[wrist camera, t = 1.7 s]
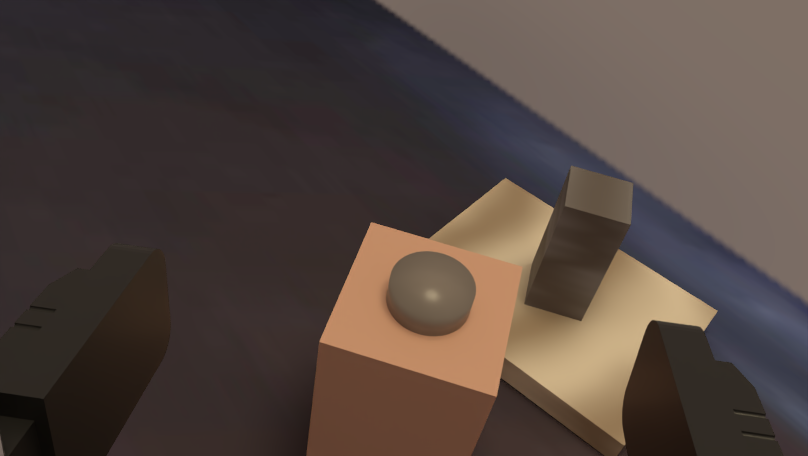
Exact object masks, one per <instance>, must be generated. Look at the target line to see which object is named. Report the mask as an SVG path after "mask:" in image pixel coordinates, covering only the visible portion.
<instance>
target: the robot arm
mask: <svg viewBox="0 0 808 456" xmlns="http://www.w3.org/2000/svg"><path fill="white" fill-rule="evenodd" d="M170 328H171V322H170V310H169V298H168V287H167V275H166V264H165V257H164V254H163V252H162V251H161V250H160V249H154V248H147V247H139V246H132V245H125V244H118V243H115V244H112V245H111V246H110V247H109V248H108V249H107V250H106V251H105V253H104V254H103V255H102V256H101V257H100V258H99V260H98V261H97V262H96V263H95V264H94V266H93V267H92V268H91V269H90V270H86V269H79V268H77V269H75V270H74V271H72V272H70V273H68V274H67V275H65V276H63V277H61V278H60V279H58V280H56V281H54V282H53V283H51V284H49V285H48V286H47V287H46V288H45V290H44V291H43V292H42V293H41V294H40V295H39V296H38V297H37V298H36V300H35V301H34V302H33V303H32V304H31V305H30V309H29V310H26V311H25V312H24V313H23V314H22V315H21V316H20V317H19V318H18V320H17V321H16V322H15V325H14V327H10V328H9V330H8V331H7V332H6V333H5V334H4V335H3V336H2V337H1V338H0V456H106V455H107V454H108V452H109V450H110V449H111V447H112V445H113V443H114V442H115V440H116V438H117V437H118V435H119V433H120V431H121V430H122V428H123V426H124V425H125V423H126V421H127V419H128V418H129V416H130V414H131V413H132V411H133V409H134V408H135V406H136V404H137V402H138V401H139V399H140V397H141V396H142V394H143V392H144V390H145V389H146V387H147V385H148V384H149V382H150V380H151V378H152V377H153V375H154V373H155V372H156V370H157V368H158V366H159V365H160V363H161V361H162V359H163V357H164V355H165V353H166V350H167V346H168V342H169V337H170ZM765 415H766V413H765V411H764V408H763V406H762V404H761V401H760V399H759V397H758V394H757V392H756V390H755V387H754V386H753V385H752V384H751V383H750V382H749V381H748V380H747V379H746V378H745V377H744V376H743V375H742V373H741V372H740V371H739V370H738V369H737V368H736V367H735V366H734V365H733V364H732V363H729V362H722V361H715V360H714V357H713V354H712V352H711V349H710V346H709V344H708V341H707V338H706V336H705V333H704V331H703V329H702V328H701V327H699V326H692V325H685V324H678V323H671V322H664V321H657V320H652V321H651V322H650V323H649V324H648V326H647V328H646V330H645V333H644V336H643V339H642V342H641V345H640V348H639V351H638V354H637V357H636V360H635V363H634V366H633V369H632V372H631V375H630V378H629V381H628V384H627V387H626V390H625V394H624V399H623V407H622V426H623V433H624V438H625V443H626V448H627V453H628V456H783V453H782V451H781V448H780V446H779V444H778V441H775V434H774V432H773V430H772V427H771V425H770V423H769V420H768V419H766V418H765Z"/></svg>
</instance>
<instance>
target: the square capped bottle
mask: <svg viewBox="0 0 808 456" xmlns="http://www.w3.org/2000/svg"><path fill="white" fill-rule="evenodd" d="M522 268H523V267H521V266H518V265H515V264H511V263H508V262H505V261H501V260H498V259H494V258H491V257H488V256H484V255H481V254H477V253H474V252H471V251H467V250H464V249H460V248H457V247H454V246H450V245H447V244H443V243H440V242H437V241H433V240H430V239H426V238H423V237H420V236H416V235H413V234H410V233H406V232H403V231H399V230H396V229H393V228H389V227H386V226H382V225H379V224H376V223H372V222H371V224H370V227H369V229H368V231H367V234H366V236H365V238H364V240H363V243H362V245H361V247H360V250H359V252H358V254H357V257H356V259H355V261H354V263H353V266H352V268H351V270H350V273H349V275H348V277H347V280H346V282H345V284H344V286H343V289H342V291H341V293H340V296H339V298H338V300H337V302H336V305H335V307H334V309H333V312H332V314H331V316H330V319H329V321H328V323H327V325H326V328H325V330H324V332H323V335H322V337H321V339H320V342H319V349H318V358H317V367H316V376H315V384H314V393H313V402H312V411H311V419H310V428H309V437H308V446H307V454H306V456H471V455H472V452H473V450H474V448H475V445H476V443H477V441H478V438H479V436H480V434H481V432H482V429H483V427H484V425H485V422H486V420H487V418H488V415H489V413H490V411H491V408H492V406H493V404H494V401H495V399H496V397H497V392H498V387H499V382H500V377H501V372H502V367H503V362H504V357H505V352H506V347H507V342H508V337H509V332H510V327H511V323H512V318H513V313H514V308H515V303H516V298H517V293H518V288H519V283H520V278H521V273H522Z"/></svg>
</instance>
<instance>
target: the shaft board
mask: <svg viewBox="0 0 808 456" xmlns="http://www.w3.org/2000/svg"><path fill="white" fill-rule="evenodd" d="M632 193H633V183H631V182H627V181H623V180H620V179H616V178H613V177H609V176H606V175H602V174H599V173H595V172H592V171H588V170H584V169H581V168H577V167H574V166H571V167H570V170H569V172H568V175H567V177H566V180H565V182H564V185H563V187H562V190H561V192H560V195H559V197H558V200H557V202H556V205H555V207H554V208H552V207H551V206H549V205H547V204H546V203H544V202H543V201H541V200H539V199H538V198H536V197H535V196H533V195H531V194H530V193H528V192H527V191H525V190H524V189H522V188H520V187H519V186H517V185H516V184H514V183H512V182H511V181H509V180H508V179H506V178H505V179H504V180H503V181H501V182H500V183H499V184H498V185H496V186H495V187H494V188H492V189H491V190H490V191H489V192H487V193H486V194H485V195H484V196H482V197H481V198H480V199H479V200H477V201H476V202H475V203H474V204H472V205H471V206H470V207H468V208H467V209H466V210H465V211H463V212H462V213H461V214H460V215H458V216H457V217H456V218H455V219H453V220H452V221H451V222H450V223H448V224H447V225H446V226H445V227H443V228H442V229H441V230H439V231H438V232H437V233H436V234H434V235H433V236H432V237H431V238H429V239H430V240H433V241H437V242H440V243H443V244H447V245H450V246H454V247H457V248H460V249H464V250H467V251H471V252H474V253H477V254H481V255H484V256H488V257H491V258H494V259H498V260H501V261H505V262H508V263H511V264H515V265H518V266H521V267H523V268H522V273H521V278H520V283H519V288H518V293H517V298H516V303H515V308H514V313H513V318H512V323H511V327H510V332H509V337H508V342H507V347H506V352H505V357H504V362H503V367H502V372H501V377H500V378H502V379H503V380H504V381H506V382H507V383H508V384H510V385H511V386H512V387H514V388H515V389H516V390H518V391H519V392H520V393H522V394H523V395H524V396H526V397H527V398H528V399H530V400H531V401H532V402H534V403H535V404H536V405H538V406H539V407H540V408H542V409H543V410H544V411H546V412H547V413H548V414H550V415H551V416H552V417H554V418H555V419H556V420H558V421H559V422H560V423H562V424H563V425H564V426H566V427H567V428H568V429H570V430H571V431H572V432H574V433H575V434H576V435H578V436H579V437H580V438H582V439H583V440H584V441H586V442H587V443H588V444H589V445H591V446H592V447H593V448H595V449H596V450H597V451H599V452H600V453H601V454H603V455H604V456H617V455H618V454H619V452H620V451H621V450H622V448H623V447H624V445H625V444H626V443H625V438H624V433H623V426H622V407H623V399H624V394H625V390H626V387H627V384H628V381H629V378H630V375H631V372H632V369H633V366H634V363H635V360H636V357H637V354H638V351H639V348H640V345H641V342H642V339H643V336H644V333H645V330H646V328H647V326H648V324H649V323H650V322H651V321H652V320H657V321H664V322H671V323H678V324H685V325H692V326H699V327H701V328H702V329H703V331H704V330H705V329H706V327H707V326H708V324H709V323H710V321H711V320H712V318H713V317H714V316H715V314H716V313H717V311H716V310H715V309H713V308H712V307H710V306H709V305H707V304H705V303H704V302H702V301H701V300H699V299H697V298H696V297H694V296H693V295H691V294H689V293H688V292H686V291H685V290H683V289H681V288H680V287H678V286H677V285H675V284H673V283H672V282H670V281H669V280H667V279H665V278H664V277H662V276H661V275H659V274H657V273H656V272H654V271H653V270H651V269H649V268H648V267H646V266H645V265H643V264H642V263H640V262H638V261H637V260H635V259H634V258H632V257H630V256H629V255H627V254H626V253H624V252H622V251H621V250H619V247H620V245H621V243H622V241H623V239H624V237H625V235H626V233H627V231H628V229H629V227H630V225H631V211H632Z"/></svg>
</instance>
